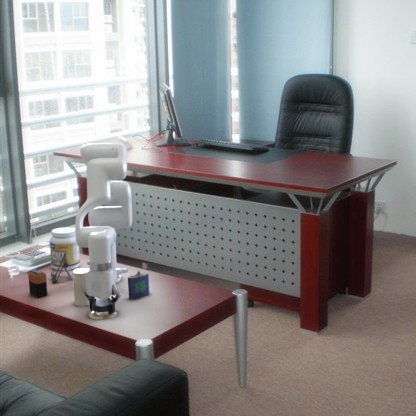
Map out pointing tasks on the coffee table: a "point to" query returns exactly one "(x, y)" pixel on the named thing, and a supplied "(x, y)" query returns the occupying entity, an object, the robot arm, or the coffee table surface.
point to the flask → (138, 286)
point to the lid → (100, 305)
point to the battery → (37, 283)
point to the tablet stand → (64, 265)
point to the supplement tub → (64, 248)
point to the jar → (80, 286)
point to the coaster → (101, 315)
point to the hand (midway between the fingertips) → (102, 311)
